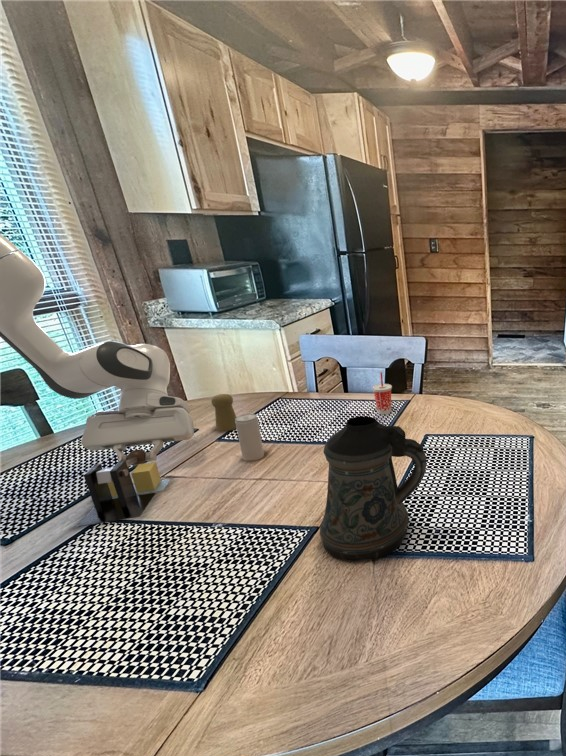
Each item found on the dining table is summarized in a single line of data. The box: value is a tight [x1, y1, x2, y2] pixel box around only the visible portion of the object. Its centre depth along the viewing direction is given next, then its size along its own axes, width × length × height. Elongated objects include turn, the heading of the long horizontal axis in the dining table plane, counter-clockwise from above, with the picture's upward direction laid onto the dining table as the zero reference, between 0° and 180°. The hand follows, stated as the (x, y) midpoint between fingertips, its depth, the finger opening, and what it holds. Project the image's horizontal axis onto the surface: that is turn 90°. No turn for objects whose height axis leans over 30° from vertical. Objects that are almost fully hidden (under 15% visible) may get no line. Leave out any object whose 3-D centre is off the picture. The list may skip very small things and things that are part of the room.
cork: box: [210, 393, 238, 432], centre depth 123 cm, size 6×6×11 cm
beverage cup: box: [372, 371, 393, 415], centre depth 138 cm, size 6×6×14 cm
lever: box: [96, 449, 147, 484], centre depth 90 cm, size 16×4×4 cm, turn 22°
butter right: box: [130, 461, 162, 493], centre depth 93 cm, size 3×4×5 cm
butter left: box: [108, 482, 118, 496], centre depth 91 cm, size 3×4×5 cm
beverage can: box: [235, 413, 265, 462], centre depth 107 cm, size 5×5×12 cm
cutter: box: [76, 460, 158, 528], centre depth 85 cm, size 9×10×11 cm
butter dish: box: [112, 478, 171, 499], centre depth 93 cm, size 12×5×1 cm, turn 112°
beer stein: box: [319, 415, 428, 562], centre depth 79 cm, size 16×19×25 cm
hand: (137, 462), depth 96 cm, fingers closed on lever, 3 cm apart
